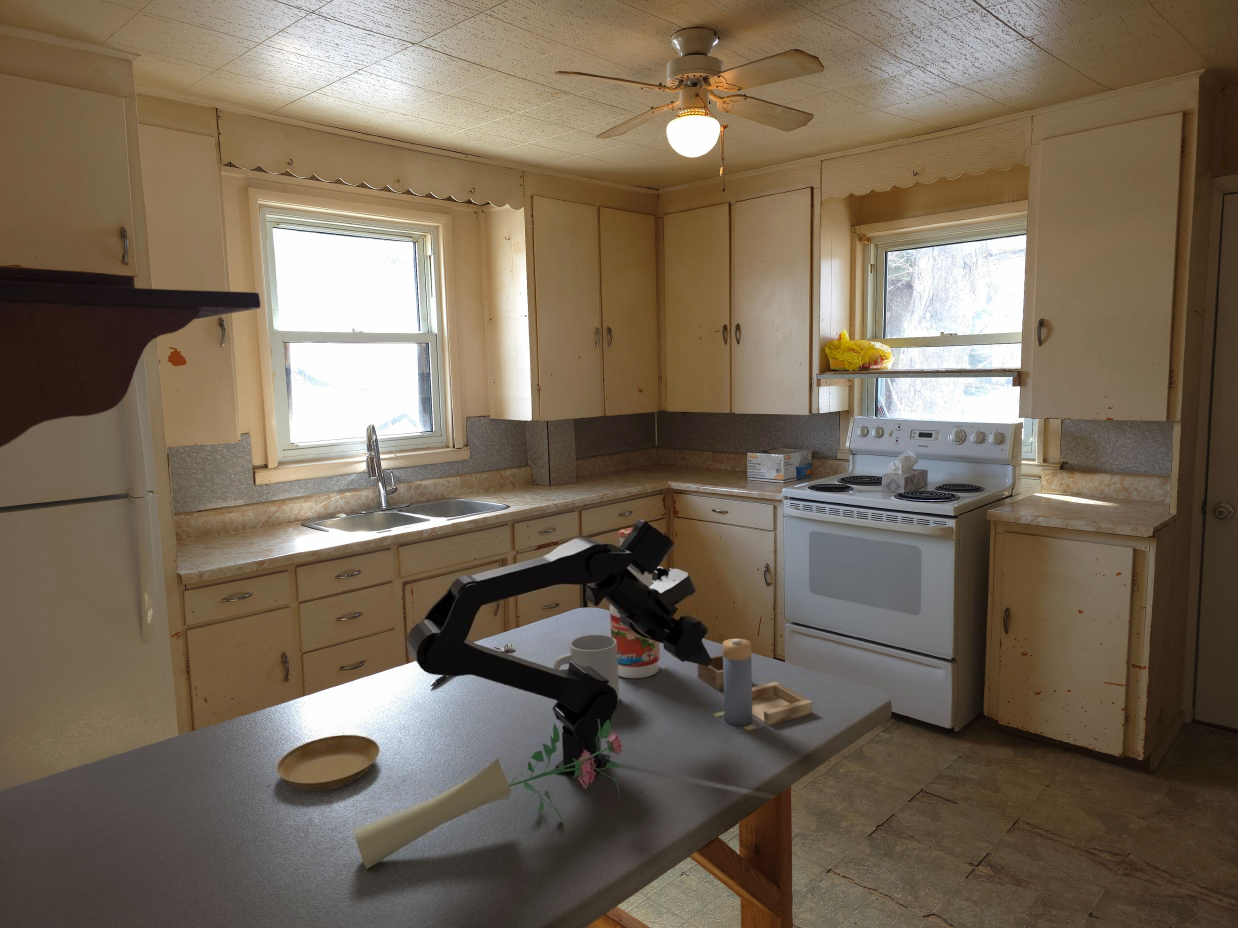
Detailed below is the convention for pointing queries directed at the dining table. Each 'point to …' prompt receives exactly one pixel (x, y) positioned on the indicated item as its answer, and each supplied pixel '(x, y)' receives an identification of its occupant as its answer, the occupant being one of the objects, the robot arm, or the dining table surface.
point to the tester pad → (739, 729)
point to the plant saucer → (328, 762)
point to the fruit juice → (633, 639)
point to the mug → (594, 656)
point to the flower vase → (468, 800)
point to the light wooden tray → (778, 704)
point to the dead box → (713, 673)
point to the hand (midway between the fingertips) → (694, 654)
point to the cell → (737, 682)
